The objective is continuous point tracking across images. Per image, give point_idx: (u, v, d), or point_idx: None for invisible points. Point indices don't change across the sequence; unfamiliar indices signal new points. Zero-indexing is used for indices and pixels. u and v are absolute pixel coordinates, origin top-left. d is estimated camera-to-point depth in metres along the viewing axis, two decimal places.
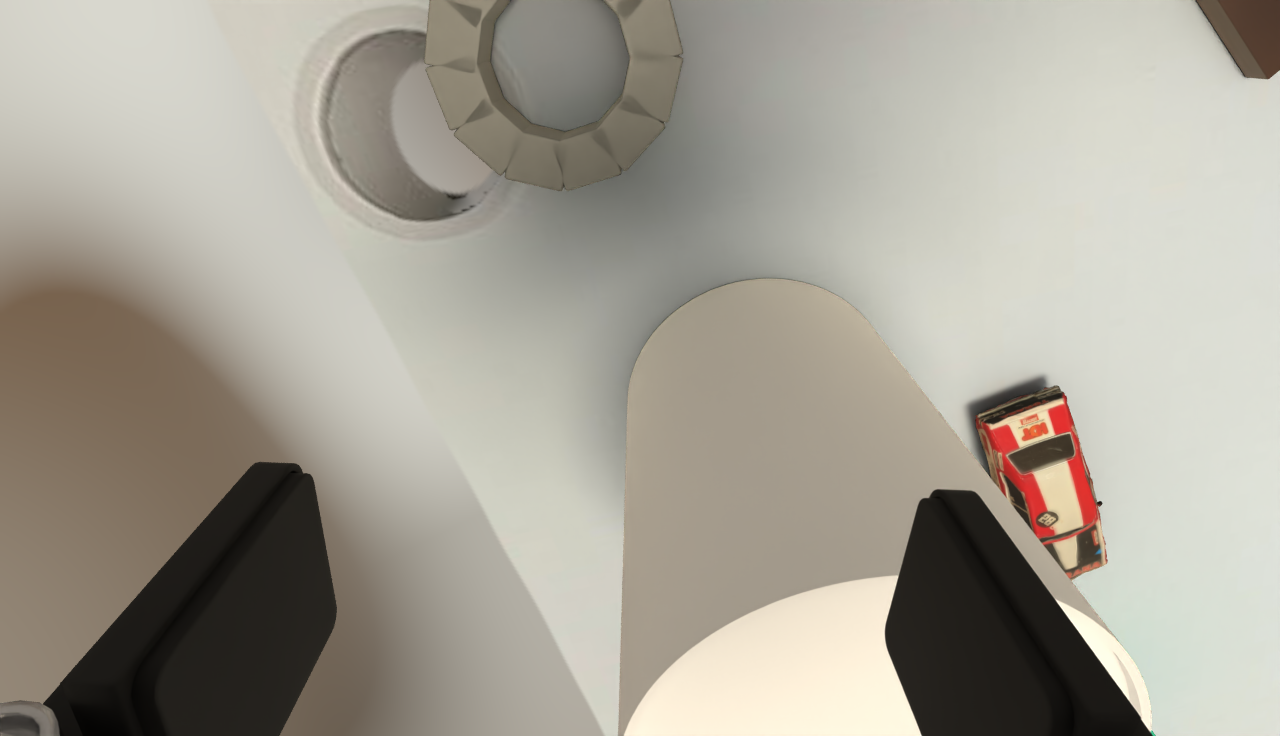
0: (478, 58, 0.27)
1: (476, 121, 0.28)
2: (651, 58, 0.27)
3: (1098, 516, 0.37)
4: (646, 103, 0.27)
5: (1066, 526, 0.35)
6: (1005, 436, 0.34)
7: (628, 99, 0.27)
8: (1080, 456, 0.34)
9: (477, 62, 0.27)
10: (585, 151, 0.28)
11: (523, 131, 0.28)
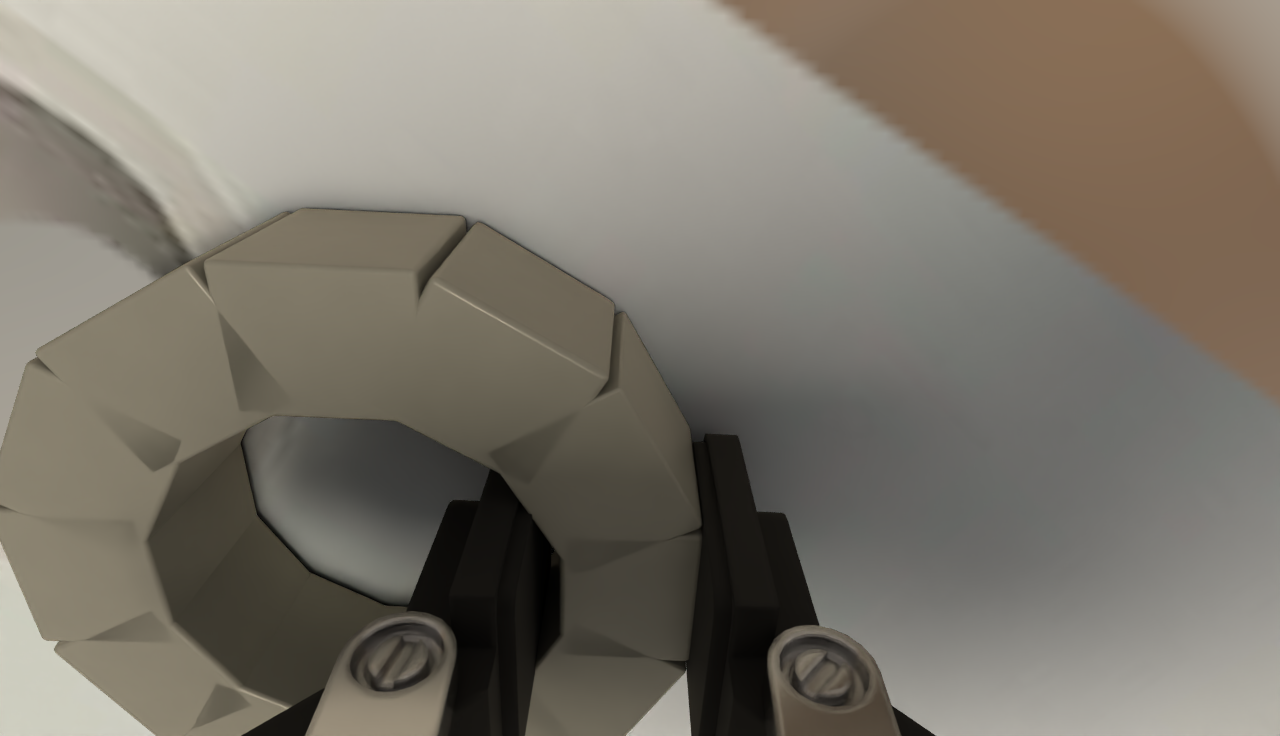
0: (195, 452, 0.09)
1: (73, 537, 0.10)
2: (547, 725, 0.11)
3: None
4: None
5: None
6: None
7: None
8: None
9: (183, 459, 0.09)
10: None
11: (177, 619, 0.10)
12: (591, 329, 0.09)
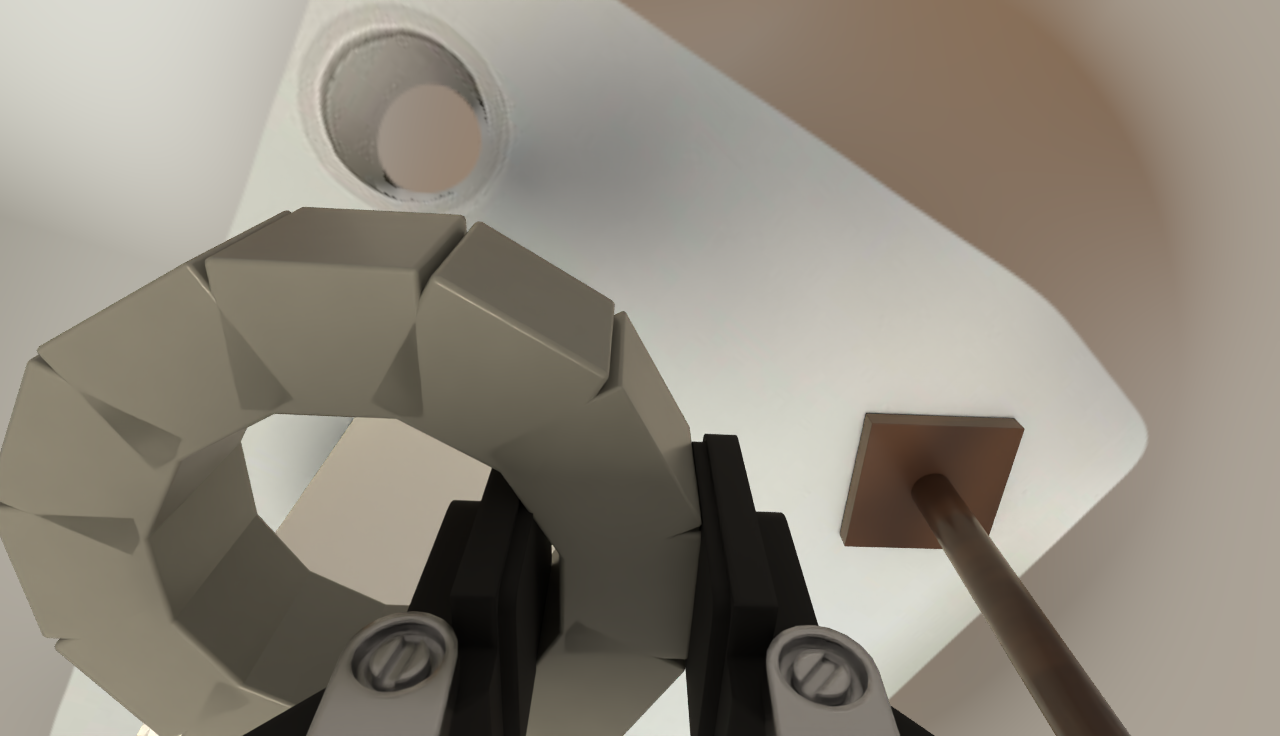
0: (196, 450, 0.09)
1: (73, 534, 0.10)
2: (547, 724, 0.11)
3: None
4: None
5: None
6: None
7: None
8: None
9: (184, 457, 0.09)
10: None
11: (177, 617, 0.10)
12: (591, 328, 0.09)
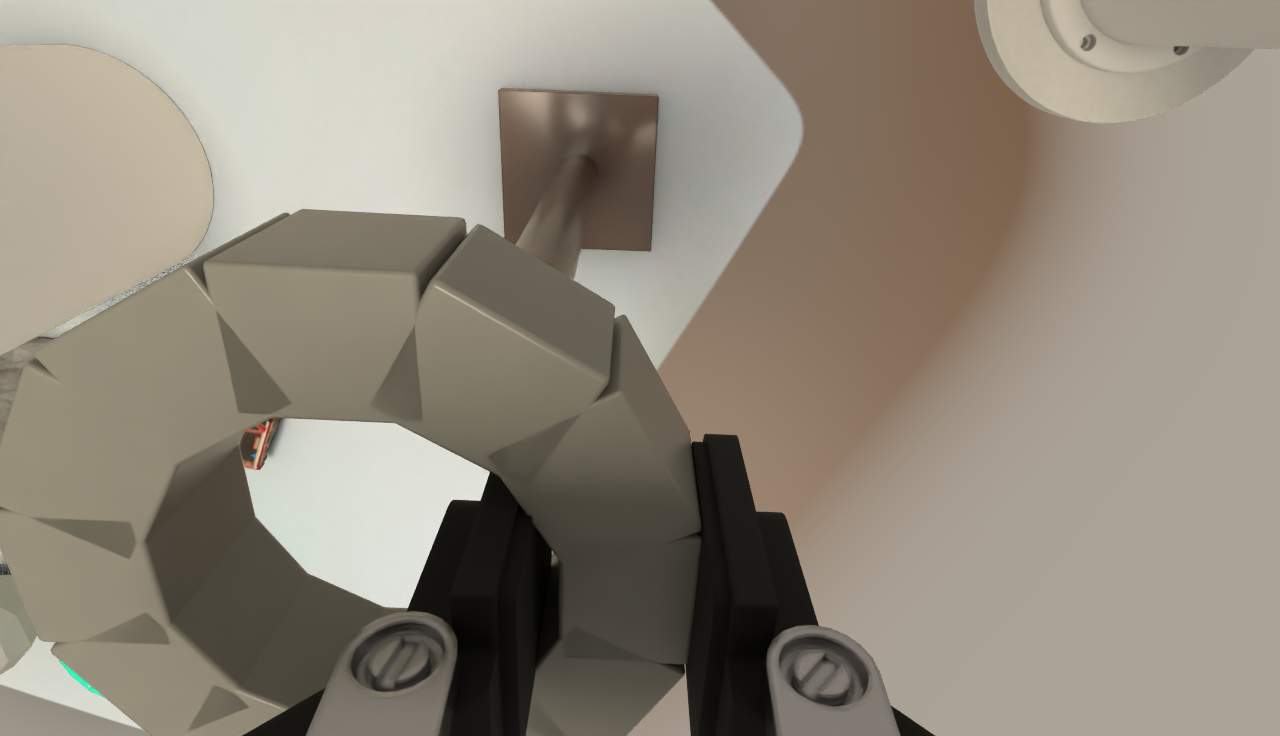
0: None
1: (70, 538, 0.09)
2: (545, 728, 0.11)
3: (266, 430, 0.48)
4: None
5: None
6: None
7: None
8: None
9: (182, 460, 0.09)
10: None
11: (174, 621, 0.10)
12: (591, 332, 0.09)
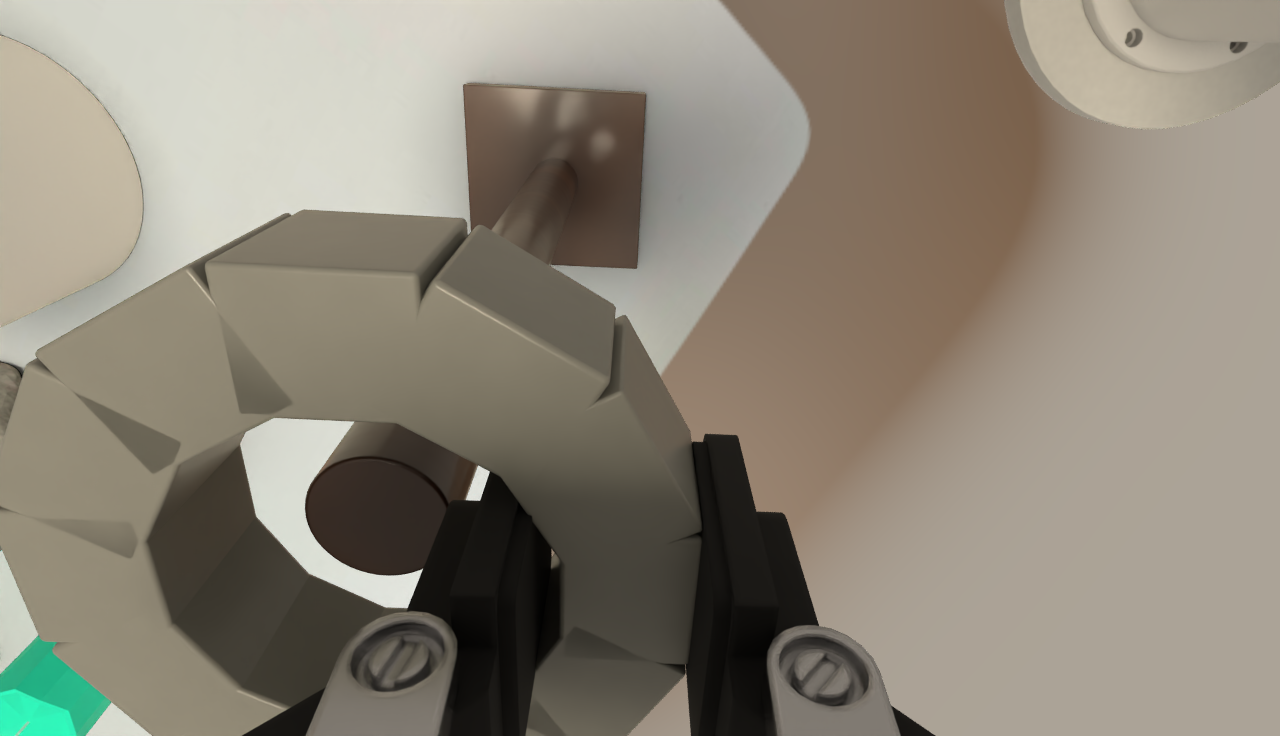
0: (195, 454, 0.09)
1: (72, 538, 0.09)
2: (546, 728, 0.11)
3: None
4: None
5: None
6: None
7: None
8: None
9: (183, 461, 0.09)
10: None
11: (176, 621, 0.10)
12: (592, 332, 0.09)
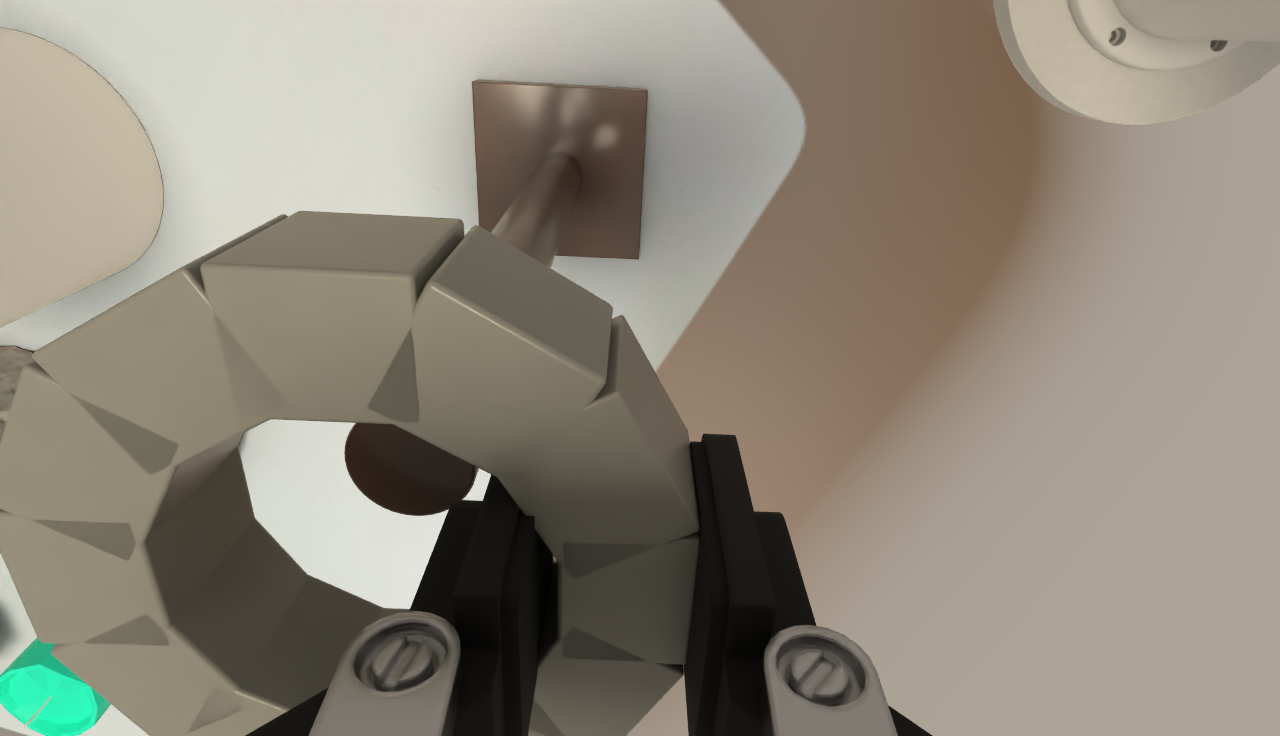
0: (192, 455, 0.09)
1: (69, 540, 0.10)
2: (544, 728, 0.11)
3: None
4: None
5: None
6: None
7: None
8: None
9: (180, 462, 0.09)
10: None
11: (174, 622, 0.10)
12: (589, 333, 0.09)
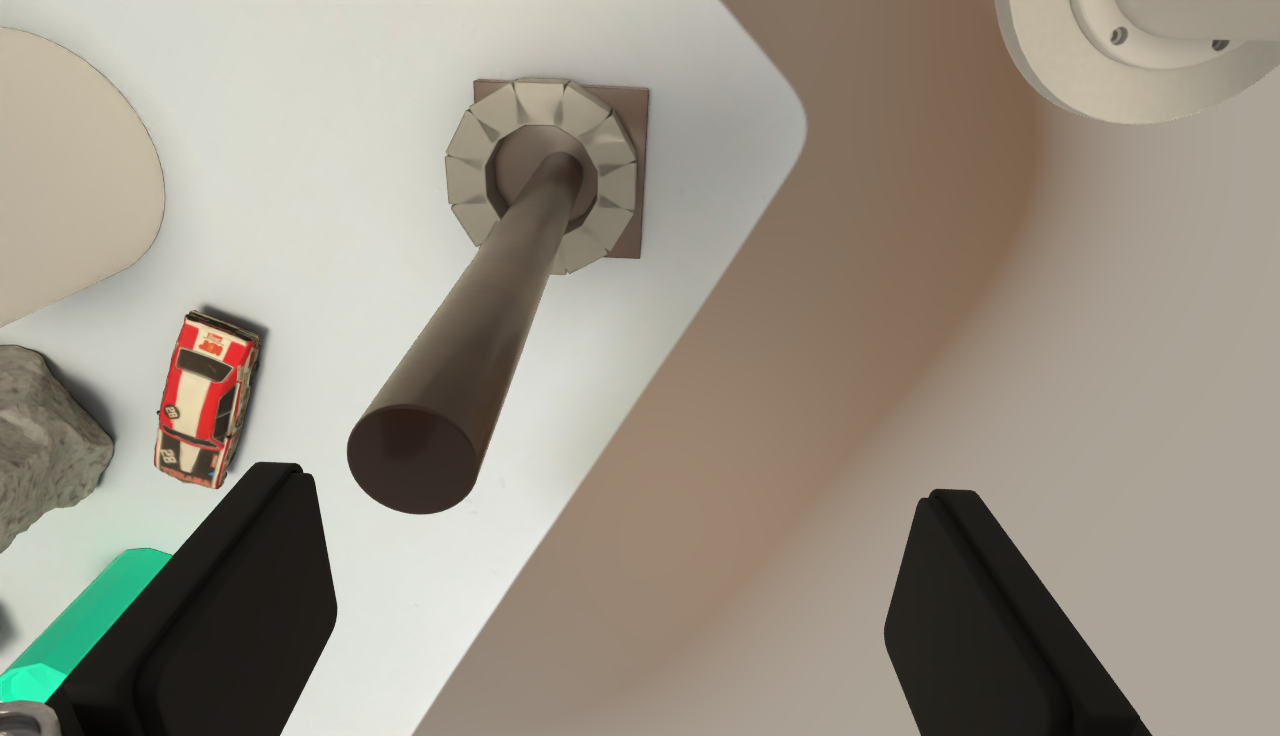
0: (502, 138, 0.35)
1: (466, 165, 0.35)
2: (593, 237, 0.37)
3: (225, 447, 0.44)
4: (567, 254, 0.37)
5: (182, 428, 0.42)
6: (190, 335, 0.41)
7: (561, 242, 0.37)
8: (226, 387, 0.42)
9: (499, 139, 0.35)
10: None
11: (487, 197, 0.36)
12: (604, 105, 0.35)
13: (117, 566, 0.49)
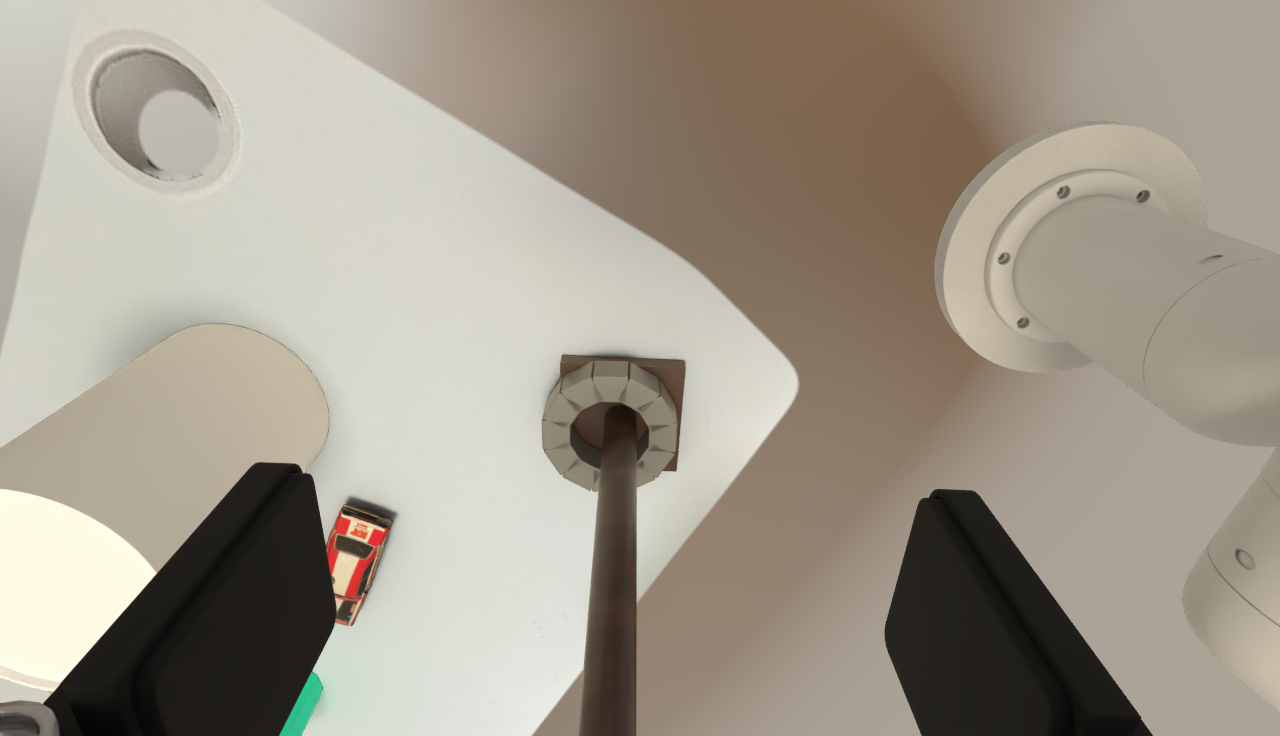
0: (583, 408, 0.49)
1: (556, 425, 0.50)
2: (644, 469, 0.52)
3: (361, 598, 0.59)
4: None
5: (335, 590, 0.57)
6: (344, 524, 0.55)
7: None
8: (369, 561, 0.56)
9: None
10: (585, 472, 0.52)
11: (570, 444, 0.51)
12: (655, 384, 0.50)
13: None
